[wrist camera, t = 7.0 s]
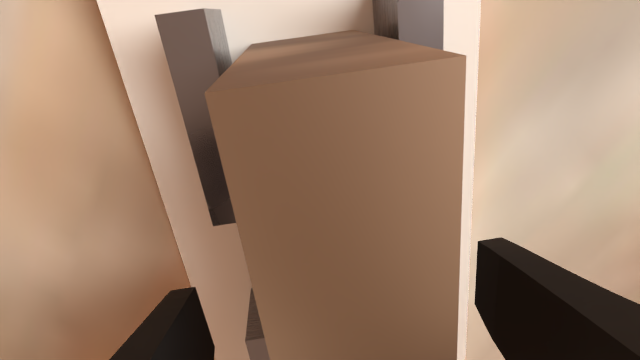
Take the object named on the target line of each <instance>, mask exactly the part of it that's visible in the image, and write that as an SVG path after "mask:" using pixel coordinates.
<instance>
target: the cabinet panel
mask: <svg viewBox="0 0 640 360" xmlns="http://www.w3.org/2000/svg"><path fill="white" fill-rule="evenodd" d="M97 3H98V6H99V9H100V12H101V16H102V19H103V22H104V25H105V28H106V31H107V34H108V37H109V40H110V43H111V46H112V49H113V52H114V55H115V58H116V61H117V64H118V67H119V70H120V73H121V76H122V79H123V82H124V85H125V88H126V91H127V94H128V97H129V100H130V103H131V106H132V109H133V112H134V115H135V118H136V122H137V125H138V128H139V131H140V134H141V137H142V140H143V143H144V146H145V149H146V152H147V155H148V158H149V161H150V164H151V167H152V170H153V173H154V176H155V179H156V182H157V185H158V188H159V191H160V194H161V197H162V200H163V203H164V206H165V209H166V212H167V215H168V218H169V221H170V225H171V228H172V231H173V234H174V237H175V240H176V243H177V246H178V249H179V252H180V255H181V258H182V261H183V264H184V267H185V270H186V273H187V276H188V279H189V282H190V285H191V287H196V290H197V293H198V296H199V300H200V303H201V306H202V309H203V312H204V315H205V318H206V321H207V324H208V327H209V330H210V333H211V337H212V340H213V343H214V346H215V352H214V358H215V360H250V357H249V354H248V350H247V346H246V343H245V337H246V328H247V319H248V310H249V301H250V292H251V288H252V284H251V280H250V276H249V272H248V268H247V264H246V260H245V256H244V252H243V248H242V244H241V240H240V236H239V232H238V228H237V224H236V223H232V224H225V225H219V226H213V224H212V221H211V217H210V213H209V210H208V206H207V203H206V199H205V195H204V192H203V188H202V185H201V181H200V177H199V174H198V170H197V167H196V163H195V159H194V156H193V152H192V149H191V145H190V141H189V138H188V134H187V131H186V127H185V123H184V120H183V116H182V113H181V109H180V106H179V102H178V98H177V95H176V91H175V88H174V84H173V80H172V77H171V73H170V70H169V66H168V62H167V59H166V55H165V52H164V48H163V44H162V41H161V37H160V34H159V30H158V26H157V23H156V19H155V16H154V15H158V14H165V13H172V12H180V11H187V10H194V9H202V8H207V9H221V13H222V18H223V23H224V27H225V32H226V37H227V42H228V46H229V51H230V56H231V61H232V64H233V63H234V62H235V61H236V60H237V58H238V57H239V56H240V55H241V54H242V53H243V52H244V51H245V50H246V49H247V48H248V47H249V46H250V45H251V44H254V43H262V42H269V41H276V40H283V39H291V38H298V37H305V36H312V35H319V34H327V33H334V32H341V31H348V30H356V31H361V32H365V33H370V34H374V19H373V3H372V0H97ZM480 13H481V0H444V35H443V50H444V51H449V52H453V53H457V54H462V55H466V85H465V117H464V149H463V181H462V213H461V245H460V277H459V309H458V341H457V360H466V340H467V317H468V293H469V270H470V247H471V223H472V200H473V176H474V153H475V130H476V106H477V83H478V59H479V36H480Z"/></svg>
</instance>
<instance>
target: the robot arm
mask: <svg viewBox="0 0 640 360" xmlns="http://www.w3.org/2000/svg"><path fill="white" fill-rule="evenodd" d="M475 305H476V307H477V310H478V312H479V314H480V316H481V318H482V320H483V322H484V324H485V326H486V328H487V330H488V332H489V334H490V336H491V337H492V339H493V341H494V343H495V344H496V346H497V347H498V349H499V350H500V352H501V353H502V355H503V357H504V358H505V360H640V304H637V303H635V302H633V301H631V300H628V299H626V298H624V297H622V296H620V295H617V294H615V293H613V292H611V291H609V290H607V289H604V288H602V287H600V286H598V285H596V284H594V283H592V282H590V281H588V280H586V279H584V278H582V277H580V276H578V275H576V274H574V273H572V272H570V271H568V270H566V269H564V268H562V267H560V266H558V265H556V264H554V263H552V262H550V261H548V260H546V259H544V258H542V257H540V256H538V255H536V254H534V253H532V252H531V251H529V250H527V249H525V248H523V247H521V246H519V245H517V244H515V243H512V242H510V241H508V240H506V239H504V238H495V239H489V240H483V241H478V250H477V269H476V289H475ZM214 352H215V346H214V343H213V340H212V337H211V333H210V330H209V327H208V324H207V321H206V318H205V315H204V312H203V309H202V306H201V303H200V300H199V296H198V293H197V290H196V287H191V288H184V289H178V290H172V291H170V292H169V293H168V294H167V295H166V296H165V298H164V299H163V300H162V301H161V302H160V303H159V304H158V305H157V307H156V308H155V309H154V310H153V311H152V312H151V313H150V315H149V316H148V317H147V318H146V319H145V320H144V321H143V323H142V324H141V325H140V326H139V327H138V328H137V329H136V331H135V332H134V333H133V334H132V335H131V336H130V337H129V338H128V340H127V341H126V342H125V343H124V344H123V345H122V346H121V347H120V348H119V350H118V351H117V352H116V353H115V354H114V355H113V356H112V357H111V358H110V360H214Z"/></svg>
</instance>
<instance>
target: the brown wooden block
mask: <svg viewBox="0 0 640 360" xmlns="http://www.w3.org/2000/svg"><path fill="white" fill-rule="evenodd" d="M465 85H466V55H462V54H457V53H453V52H449V51H444V50H440V49H435V48H431V47H427V46H422V45H418V44H414V43H409V42H405V41H400V40H396V39H392V38H387V37H383V36H378V35H374V34H370V33H365V32H361V31H356V30H348V31H341V32H334V33H327V34H319V35H312V36H305V37H298V38H291V39H283V40H276V41H269V42H262V43H254V44H251V45H250V46H249V47H248V48H247V49H246V50H245V51H244V52H243V53H242V54H241V55H240V56H239V57H238V58H237V60H236V61H235V62H234V63H233V64H232V65H231V66H230V67H229V68H228V69H227V70H226V71H225V72H224V73H223V74H222V75H221V76H220V77H219V78H218V79H217V80H216V81H215V82H214V83H213V84H212V85H211V86H210V87H209V88H208V90H207V91H206V92H205V93H204V94H205V98H206V102H207V106H208V110H209V114H210V118H211V122H212V126H213V130H214V134H215V138H216V142H217V147H218V151H219V155H220V159H221V163H222V167H223V171H224V175H225V179H226V183H227V187H228V191H229V195H230V199H231V203H232V207H233V211H234V215H235V219H236V224H237V228H238V232H239V236H240V240H241V244H242V248H243V252H244V256H245V260H246V264H247V268H248V272H249V276H250V280H251V284H252V288H253V292H254V296H255V301H256V305H257V309H258V313H259V317H260V321H261V325H262V329H263V333H264V337H265V341H266V345H267V349H268V353H269V357H270V360H457V341H458V309H459V277H460V245H461V213H462V181H463V149H464V117H465Z"/></svg>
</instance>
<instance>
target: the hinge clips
mask: <svg viewBox="0 0 640 360" xmlns="http://www.w3.org/2000/svg"><path fill="white" fill-rule="evenodd" d="M372 3H373V19H374V35H378V36H383V37H387V38H392V39H396V40H400V41H405V42H409V43H414V44H418V45H422V46H427V47H431V48H435V49H440V50H443V35H444V0H372ZM154 16H155V19H156V23H157V26H158V30H159V34H160V37H161V41H162V44H163V48H164V52H165V55H166V59H167V62H168V66H169V70H170V73H171V77H172V80H173V84H174V88H175V91H176V95H177V98H178V102H179V106H180V109H181V113H182V116H183V120H184V123H185V127H186V131H187V134H188V138H189V141H190V145H191V149H192V152H193V156H194V159H195V163H196V167H197V170H198V174H199V177H200V181H201V185H202V188H203V192H204V195H205V199H206V203H207V206H208V210H209V213H210V217H211V221H212V224H213V226H219V225H225V224H232V223H236V219H235V215H234V211H233V207H232V203H231V199H230V195H229V191H228V187H227V183H226V179H225V175H224V171H223V167H222V163H221V159H220V155H219V151H218V147H217V142H216V138H215V134H214V130H213V126H212V122H211V118H210V114H209V110H208V106H207V102H206V98H205V94H204V93H205V92H206V91H207V90H208V88H209V87H210V86H211V85H212V84H213V83H214V82H215V81H216V80H217V79H218V78H219V77H220V76H221V75H222V74H223V73H224V72H225V71H226V70H227V69H228V68H229V67H230V66H231V65H232V61H231V56H230V51H229V46H228V42H227V37H226V32H225V27H224V23H223V18H222V13H221V9H207V8H202V9H194V10H187V11H180V12H172V13H165V14H158V15H154ZM245 343H246V346H247V350H248V354H249V357H250V360H270V357H269V353H268V349H267V345H266V341H265V337H264V333H263V329H262V325H261V321H260V317H259V313H258V309H257V305H256V301H255V296H254V292H253V288H251V292H250V301H249V310H248V319H247V328H246V337H245Z"/></svg>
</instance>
